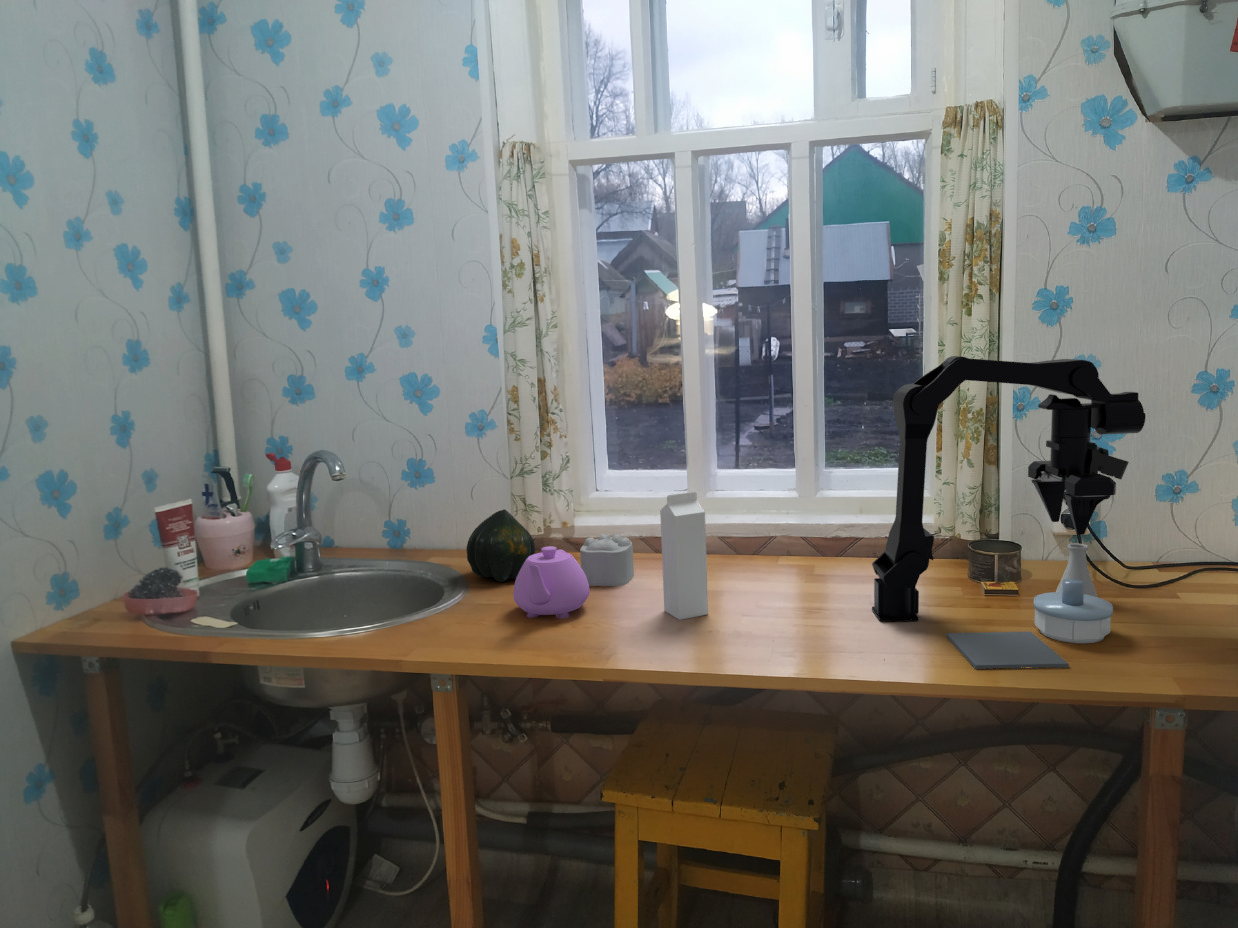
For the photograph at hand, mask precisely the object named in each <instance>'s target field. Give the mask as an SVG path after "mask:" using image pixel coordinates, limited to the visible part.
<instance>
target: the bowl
mask: <svg viewBox="0 0 1238 928" xmlns="http://www.w3.org/2000/svg"><path fill="white" fill-rule="evenodd" d="M1111 619H1112V616H1111V617H1109V618H1106V619H1103V620H1095V621H1078V620H1068V619H1062V618H1057V617H1053V616H1049V615H1046V614H1043V613H1041V612H1039V611H1038V610H1036V609H1035V608H1034V626H1036V628H1038V629H1039V631H1040V633H1041V634H1042V635H1043V636H1045V637H1047V638H1049V639H1052V640H1056V641H1059V642H1064V643H1069V644H1084V645H1085V644H1094V643H1095V644H1096V643H1099V642H1102V641H1103V640H1104V639H1105V636H1107V635H1108V634H1110V633H1111Z"/></svg>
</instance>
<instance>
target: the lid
mask: <svg viewBox="0 0 1238 928" xmlns="http://www.w3.org/2000/svg"><path fill="white" fill-rule="evenodd" d="M1033 609H1034V610H1035V609H1036V610H1038V611H1039V612H1041V613H1043V614H1046V615H1049V616H1053V617H1057V618H1062V619H1068V620H1078V621H1095V620H1103V619H1106V618H1109V617H1111V618H1112V616H1113V615H1114V606H1113V604H1112V603H1111V602H1109V601H1108V600H1106V599H1104V598H1101V597H1095V596H1091V595H1086V594H1084V581H1082V580H1078V579H1064V580H1063V582H1062V592H1056V591H1054V592H1051V591H1050V592H1044V593H1040V594H1038V595H1035V596H1034V598H1033Z"/></svg>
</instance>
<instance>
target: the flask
mask: <svg viewBox="0 0 1238 928" xmlns="http://www.w3.org/2000/svg"><path fill="white" fill-rule="evenodd" d="M1067 549H1068V550H1069V556H1068V561H1067V565H1066V567H1065V569H1064V572H1063V575H1062V577H1061V579H1060V582H1059V583H1058V585H1057V588H1056V590H1055V592H1062V582H1063V580H1064V579H1078V580H1082V581H1084V594H1086V595H1091V596H1095V597H1098V594H1097V591H1096V588H1095V586H1094V582H1093V579H1092V577H1091V574H1090V570H1089V567H1088V563H1087V562H1088V561H1087V551H1088V549H1089V545H1087V544H1085V543H1068V545H1067ZM1098 598H1099V597H1098Z"/></svg>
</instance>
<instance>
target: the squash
mask: <svg viewBox="0 0 1238 928" xmlns="http://www.w3.org/2000/svg"><path fill="white" fill-rule="evenodd" d="M533 554H536V545H535V540H534V539H533V536H532V535H531V533H530V532H529V531H528V530H527V529H526V528H525V526H523V525H522V523H520V522H519V521H518V519H516V518H515V517H514V516H513V515H512V514H511V513H510V512H509V511H507V509H501V510H498V511H496V512H494V513H493V514H492V515H490V516H489V517H487V518H486V519H484V520H483V521H481V523H479V525H477V527H476V528H475V529H474V530H473V531H472V533H471V534H470V536H469V538H468V540H467V545H466V556H467V557H466V559H467V563H469V566H470V568H471V571H472V572H473V574H474V575H476V576H478V577H481V578H492V577H493V578H494V579H495V581H497V582H500V583H504V582H506V581H507V580H508V579H510V580H511V579H512V580H516V578H517V576H518V573H519V571H520V569H521V568H522V566H523V564H524V562H525V561H526V559H527V558H528V557H529V556H531V555H533Z"/></svg>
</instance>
